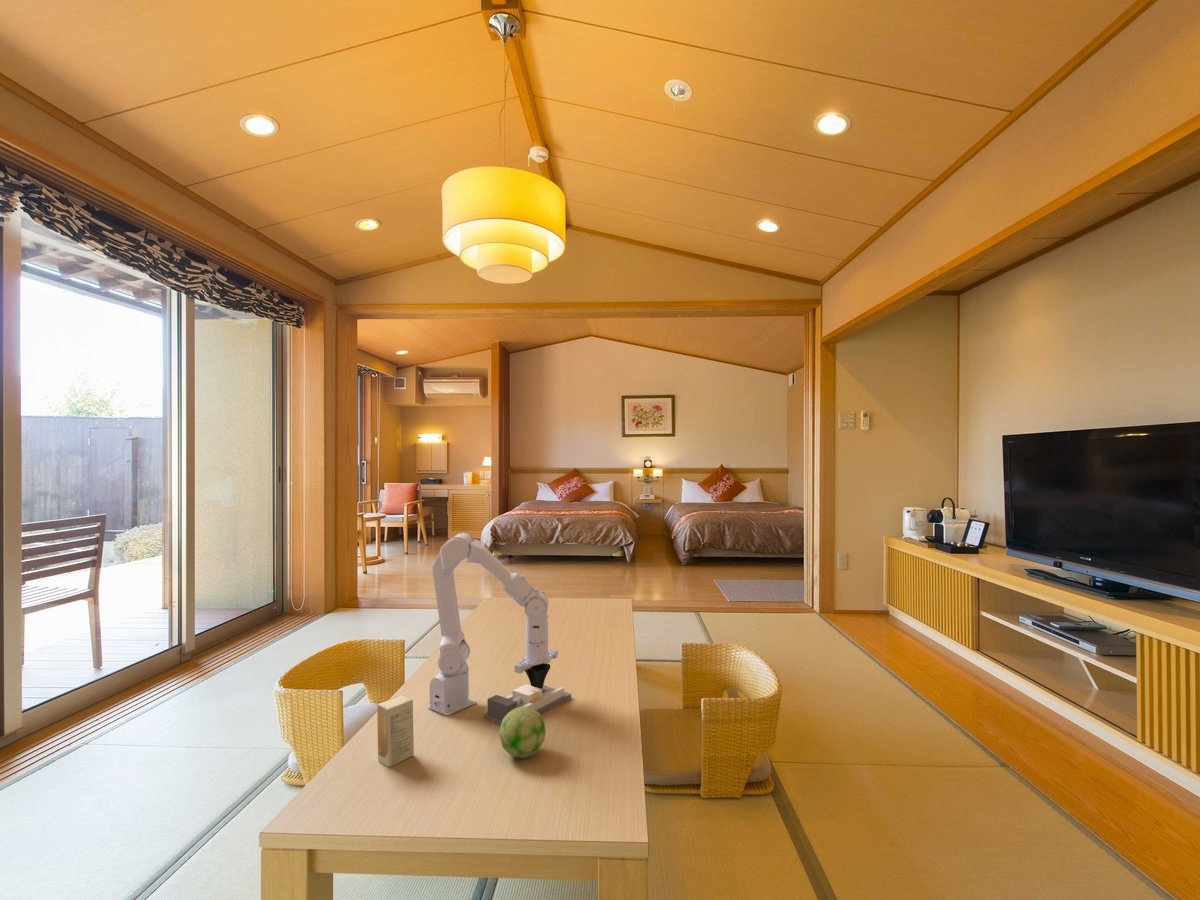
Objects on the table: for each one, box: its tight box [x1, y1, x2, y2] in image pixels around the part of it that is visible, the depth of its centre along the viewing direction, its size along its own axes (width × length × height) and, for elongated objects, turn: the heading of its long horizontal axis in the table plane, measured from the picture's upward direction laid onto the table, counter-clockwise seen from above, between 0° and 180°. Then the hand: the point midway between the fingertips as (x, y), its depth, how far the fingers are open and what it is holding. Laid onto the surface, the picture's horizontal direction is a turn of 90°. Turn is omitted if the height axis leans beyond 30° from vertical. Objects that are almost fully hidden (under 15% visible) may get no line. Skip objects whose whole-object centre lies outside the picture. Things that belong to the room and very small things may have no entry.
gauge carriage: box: [511, 683, 542, 707], centre depth 146 cm, size 8×7×4 cm
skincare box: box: [376, 694, 415, 768], centre depth 124 cm, size 6×4×12 cm
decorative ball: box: [499, 707, 546, 759], centre depth 125 cm, size 10×10×10 cm
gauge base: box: [482, 683, 572, 726], centre depth 148 cm, size 22×10×5 cm, turn 144°
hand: (537, 692), depth 151 cm, fingers closed
